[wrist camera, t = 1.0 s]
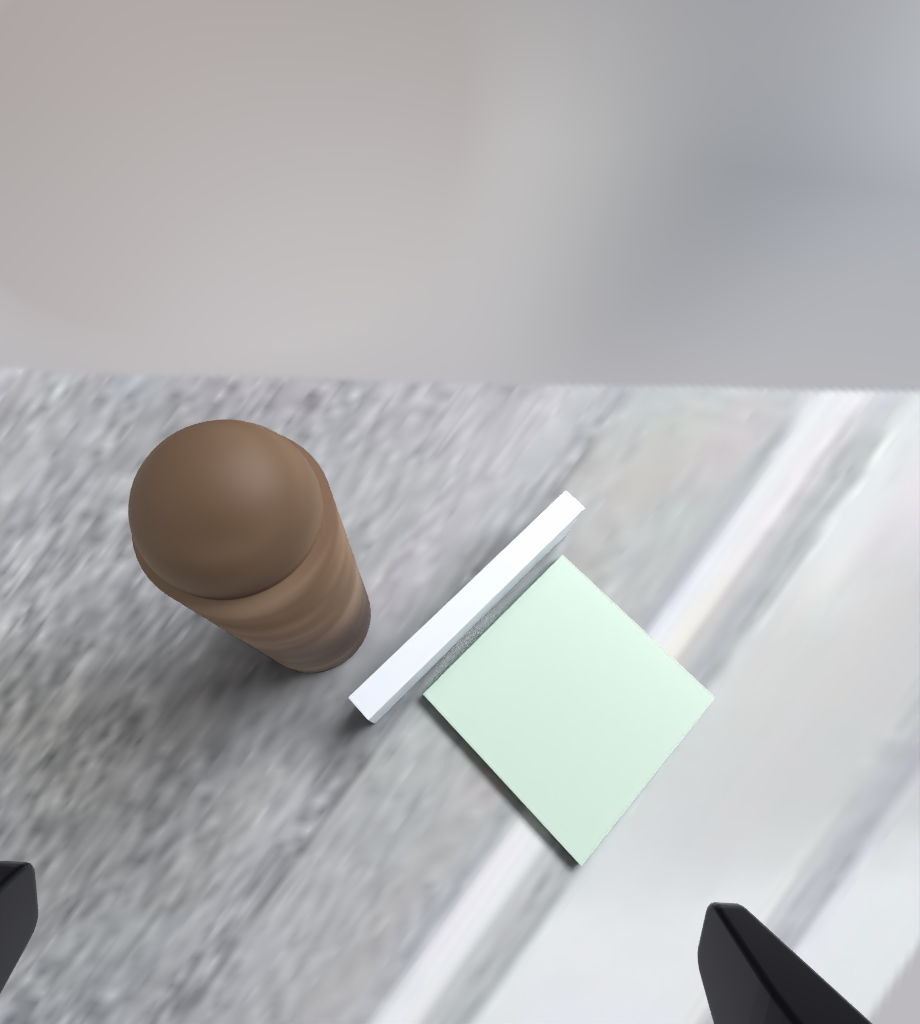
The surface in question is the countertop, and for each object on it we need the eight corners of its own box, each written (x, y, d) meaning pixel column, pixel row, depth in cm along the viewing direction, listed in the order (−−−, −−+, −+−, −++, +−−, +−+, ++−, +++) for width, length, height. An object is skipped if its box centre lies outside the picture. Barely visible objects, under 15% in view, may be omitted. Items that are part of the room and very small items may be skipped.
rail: (374, 723, 22) (368, 720, 19) (357, 704, 22) (348, 697, 20) (566, 534, 25) (584, 507, 23) (549, 518, 26) (565, 490, 23)
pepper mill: (306, 697, 22) (168, 634, 10) (235, 614, 23) (31, 465, 11) (393, 617, 24) (363, 476, 11) (322, 542, 25) (225, 338, 12)
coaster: (578, 864, 21) (581, 865, 20) (422, 695, 23) (422, 693, 22) (710, 698, 23) (715, 697, 23) (560, 557, 25) (562, 554, 25)
